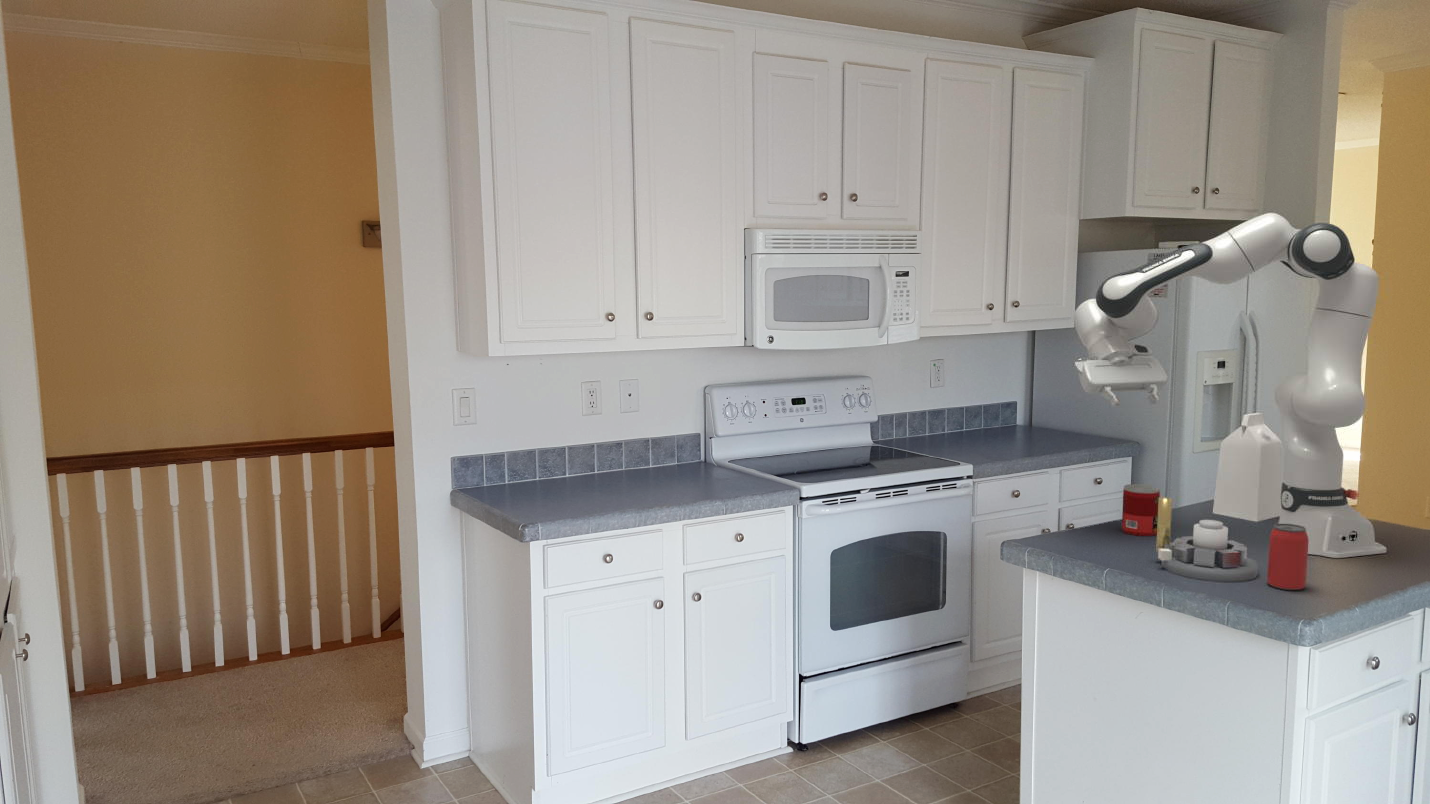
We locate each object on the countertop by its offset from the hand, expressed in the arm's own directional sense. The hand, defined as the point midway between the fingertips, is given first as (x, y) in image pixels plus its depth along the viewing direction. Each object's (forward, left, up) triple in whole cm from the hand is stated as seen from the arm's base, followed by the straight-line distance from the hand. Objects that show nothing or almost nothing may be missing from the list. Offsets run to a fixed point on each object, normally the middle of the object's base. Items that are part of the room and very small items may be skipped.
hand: (1136, 403), depth 228 cm
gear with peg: (-3, +22, -30) cm, 37 cm away
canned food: (-7, -8, -32) cm, 34 cm away
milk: (-44, -22, -32) cm, 59 cm away
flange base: (-5, +23, -32) cm, 40 cm away
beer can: (-13, +36, -32) cm, 50 cm away
